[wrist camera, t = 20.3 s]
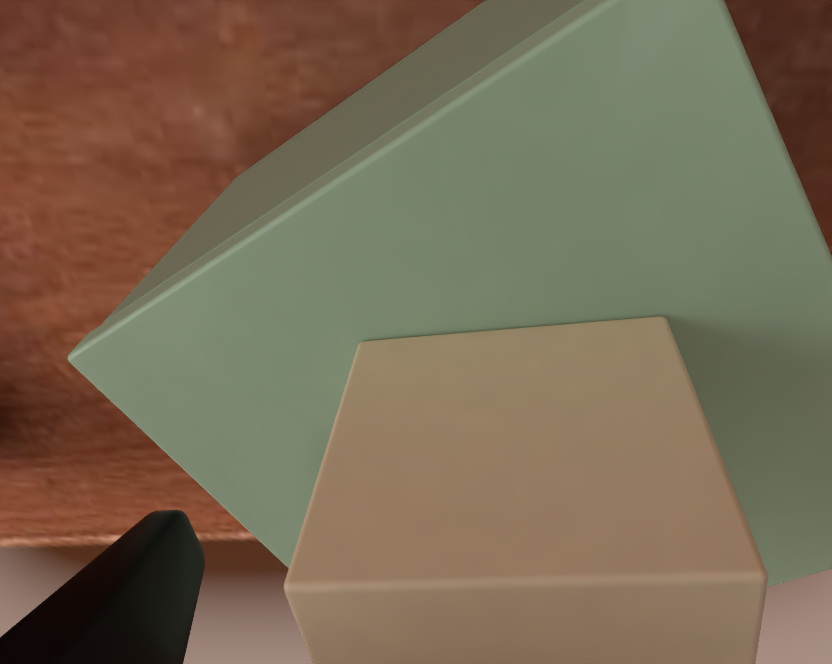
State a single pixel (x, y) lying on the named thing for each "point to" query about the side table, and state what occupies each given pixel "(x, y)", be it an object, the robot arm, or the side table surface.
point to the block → (525, 507)
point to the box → (358, 124)
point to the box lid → (517, 269)
